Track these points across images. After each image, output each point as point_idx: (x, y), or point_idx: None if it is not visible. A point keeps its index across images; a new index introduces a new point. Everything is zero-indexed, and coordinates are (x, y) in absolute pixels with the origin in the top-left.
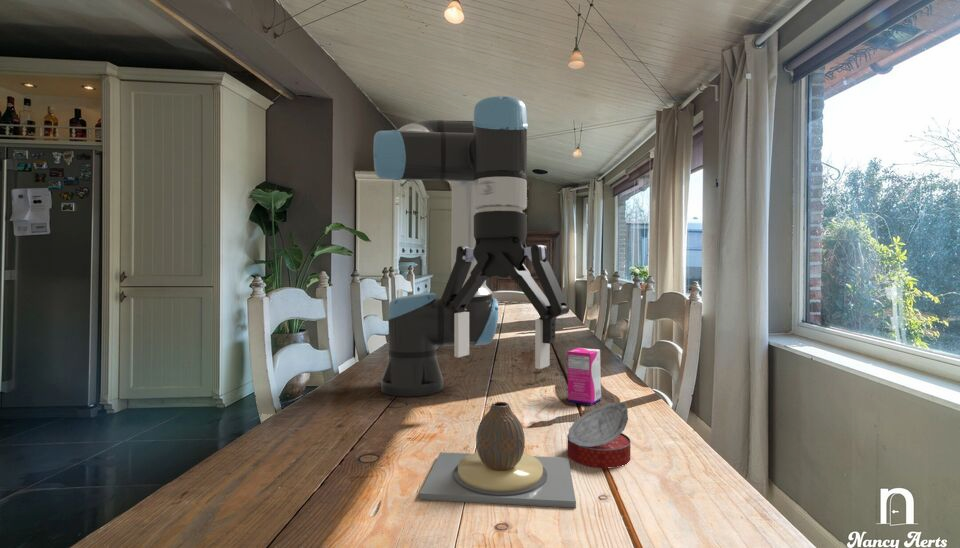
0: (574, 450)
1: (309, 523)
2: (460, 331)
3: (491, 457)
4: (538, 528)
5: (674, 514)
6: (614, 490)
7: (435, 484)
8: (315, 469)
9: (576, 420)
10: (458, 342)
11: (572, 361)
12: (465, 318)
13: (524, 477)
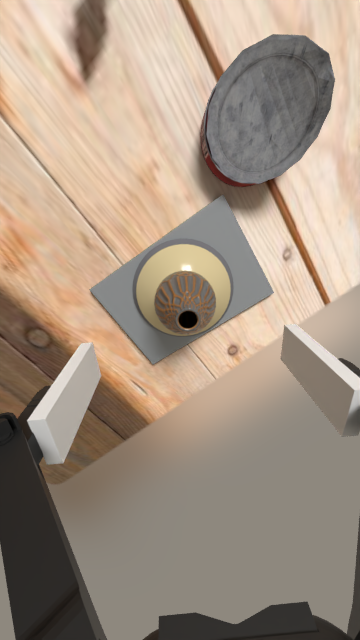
0: (229, 180)
1: (123, 422)
2: (81, 410)
3: (191, 323)
4: (257, 336)
5: (355, 242)
6: (293, 231)
7: (150, 346)
8: (33, 382)
9: (211, 102)
10: (91, 397)
11: None
12: (60, 419)
13: (220, 300)
